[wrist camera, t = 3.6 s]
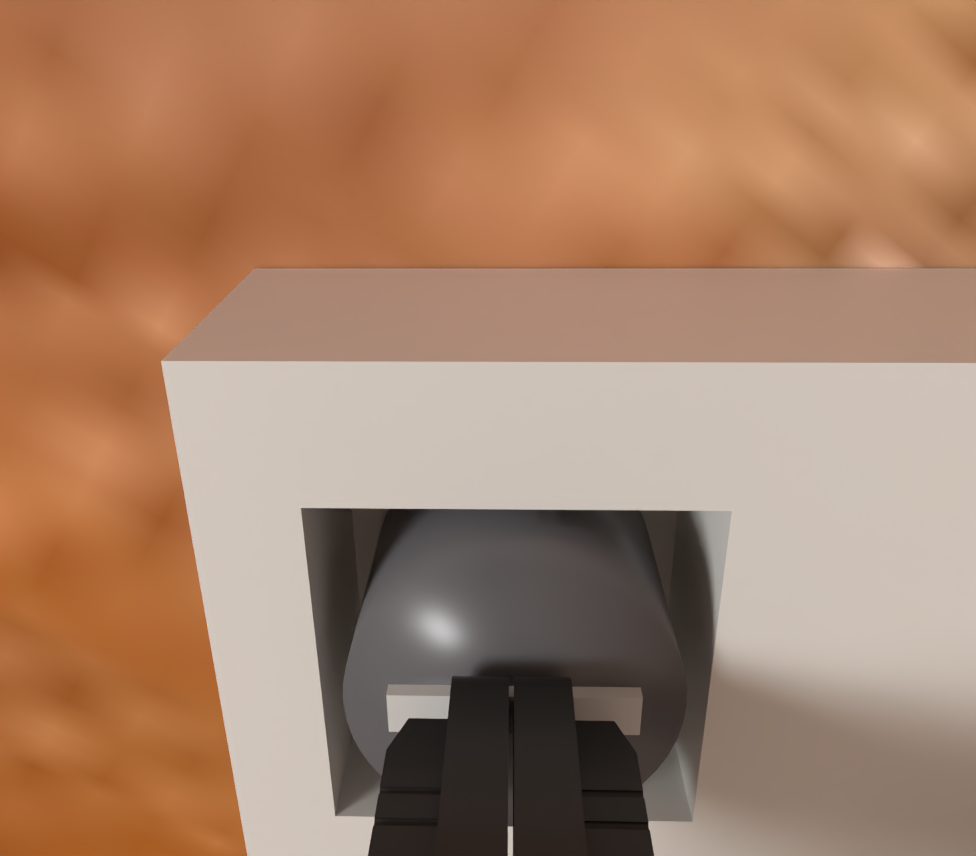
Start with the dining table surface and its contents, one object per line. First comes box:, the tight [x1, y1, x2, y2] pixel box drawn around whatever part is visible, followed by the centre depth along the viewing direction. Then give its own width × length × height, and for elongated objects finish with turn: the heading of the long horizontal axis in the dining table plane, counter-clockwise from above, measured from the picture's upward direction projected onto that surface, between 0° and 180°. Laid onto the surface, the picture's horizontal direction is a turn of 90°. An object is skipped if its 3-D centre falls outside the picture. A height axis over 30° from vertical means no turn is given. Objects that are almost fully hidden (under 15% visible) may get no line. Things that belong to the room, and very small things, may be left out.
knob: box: [343, 509, 687, 827], centre depth 13 cm, size 4×4×3 cm
